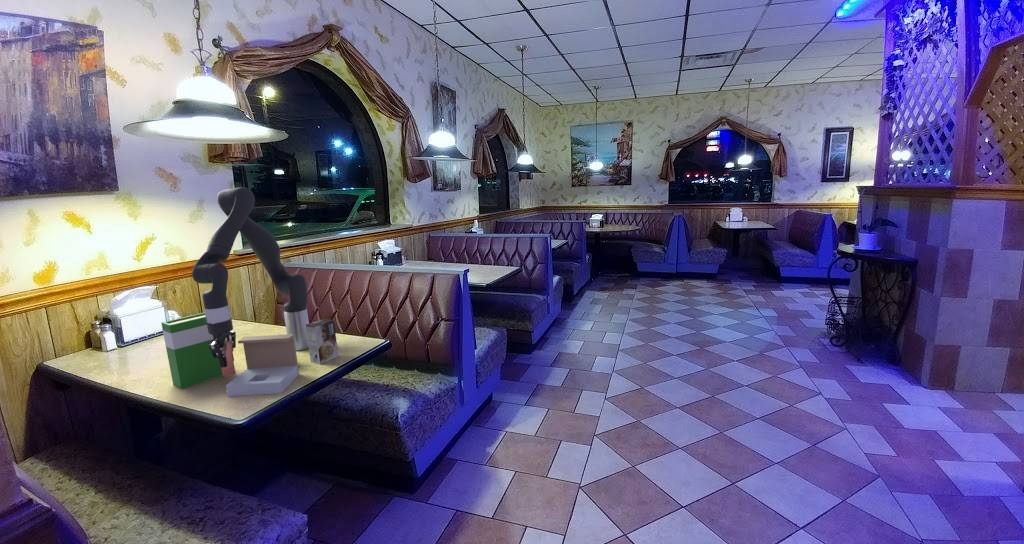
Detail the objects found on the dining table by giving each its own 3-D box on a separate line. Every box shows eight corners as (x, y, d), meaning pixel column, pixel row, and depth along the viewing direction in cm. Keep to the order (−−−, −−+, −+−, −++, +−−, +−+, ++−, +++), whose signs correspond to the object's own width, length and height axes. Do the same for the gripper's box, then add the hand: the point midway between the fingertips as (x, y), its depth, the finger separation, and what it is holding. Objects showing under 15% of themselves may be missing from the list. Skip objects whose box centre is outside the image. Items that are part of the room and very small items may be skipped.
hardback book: (224, 368, 185) (214, 310, 180) (233, 371, 181) (223, 312, 176) (173, 384, 171) (161, 322, 166) (181, 389, 166) (169, 325, 162)
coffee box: (328, 354, 195) (324, 317, 192) (339, 357, 192) (334, 319, 189) (309, 362, 188) (304, 324, 184) (320, 364, 184) (315, 326, 181)
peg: (226, 372, 169) (220, 341, 166) (237, 371, 169) (232, 340, 167) (220, 376, 165) (214, 345, 162) (232, 375, 165) (226, 344, 163)
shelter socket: (250, 377, 175) (243, 336, 172) (299, 374, 176) (293, 334, 173) (227, 396, 159) (220, 352, 156) (281, 393, 160) (275, 349, 157)
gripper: (218, 313, 169) (226, 357, 173) (195, 326, 155) (205, 373, 159) (239, 312, 170) (247, 356, 173) (218, 324, 156) (227, 371, 160)
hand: (227, 364), depth 166 cm, fingers closed on peg, 4 cm apart
